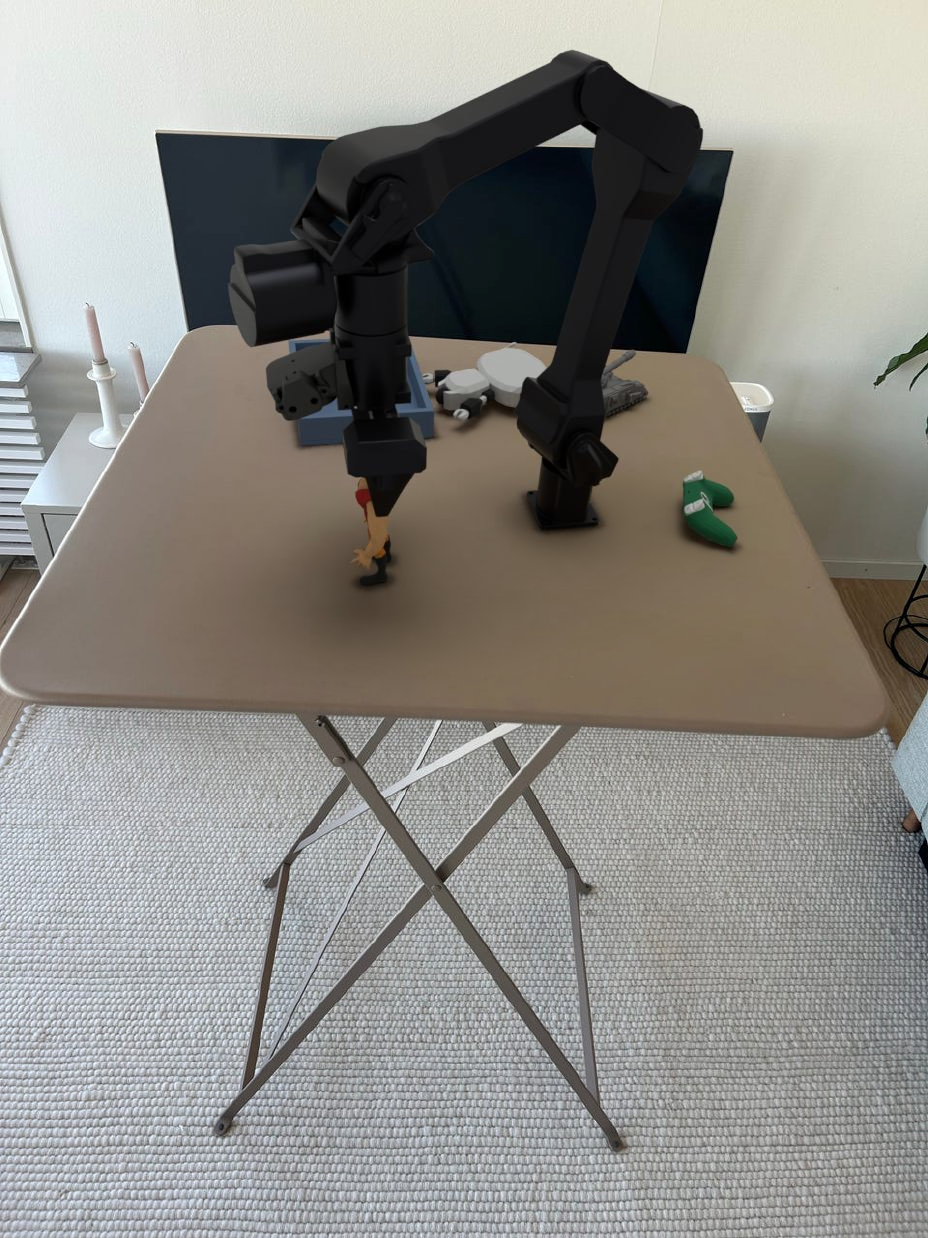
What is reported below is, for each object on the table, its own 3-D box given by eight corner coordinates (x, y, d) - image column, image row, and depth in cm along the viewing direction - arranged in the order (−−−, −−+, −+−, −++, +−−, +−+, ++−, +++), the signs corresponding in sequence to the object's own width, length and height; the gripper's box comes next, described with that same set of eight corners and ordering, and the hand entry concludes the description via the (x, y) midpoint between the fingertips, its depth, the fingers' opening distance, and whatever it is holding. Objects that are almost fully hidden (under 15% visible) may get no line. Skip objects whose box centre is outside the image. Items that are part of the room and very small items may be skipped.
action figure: (366, 538, 90) (362, 406, 80) (401, 541, 90) (401, 410, 80) (349, 599, 83) (342, 463, 73) (387, 602, 83) (385, 468, 73)
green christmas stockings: (706, 511, 100) (676, 474, 97) (736, 494, 97) (706, 456, 95) (708, 561, 93) (676, 523, 90) (741, 545, 91) (709, 505, 88)
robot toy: (458, 442, 106) (566, 411, 110) (457, 409, 102) (568, 378, 107) (416, 395, 113) (518, 367, 118) (414, 363, 110) (519, 335, 115)
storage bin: (433, 437, 105) (434, 410, 102) (300, 446, 102) (298, 418, 99) (408, 360, 119) (408, 335, 116) (290, 366, 116) (288, 340, 113)
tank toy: (601, 372, 119) (607, 335, 115) (655, 400, 114) (663, 363, 110) (538, 398, 113) (542, 360, 109) (592, 429, 108) (598, 391, 104)
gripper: (262, 275, 74) (279, 436, 85) (271, 383, 61) (291, 558, 72) (393, 271, 76) (394, 429, 87) (430, 375, 63) (425, 546, 74)
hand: (375, 485), depth 80 cm, fingers open, 9 cm apart
